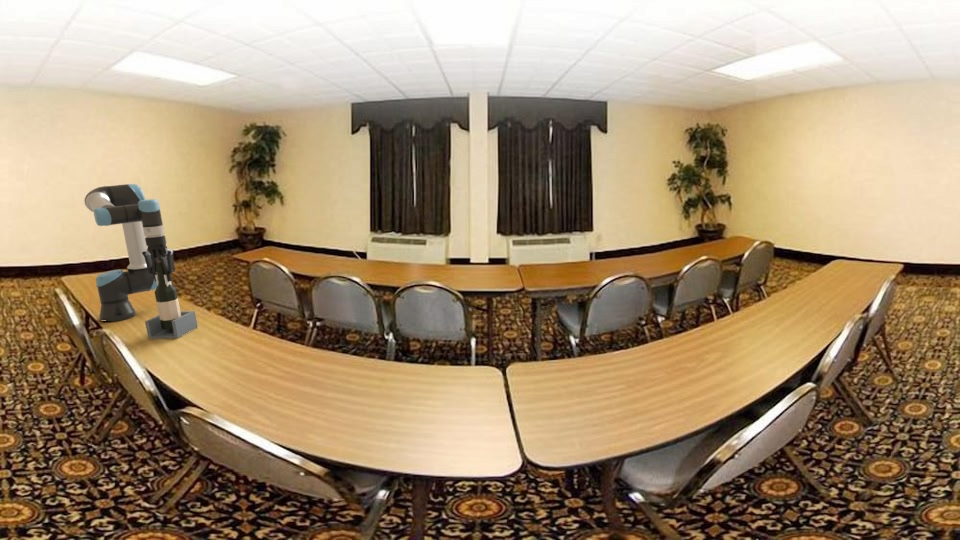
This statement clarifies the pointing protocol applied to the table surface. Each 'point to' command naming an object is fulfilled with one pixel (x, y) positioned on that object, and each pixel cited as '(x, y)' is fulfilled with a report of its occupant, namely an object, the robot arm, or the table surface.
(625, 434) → the table surface
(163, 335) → the bottle stand
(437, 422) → the table surface
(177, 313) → the wine bottle
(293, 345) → the table surface
